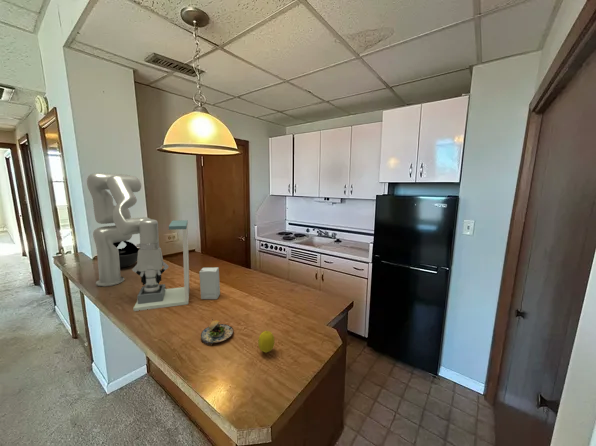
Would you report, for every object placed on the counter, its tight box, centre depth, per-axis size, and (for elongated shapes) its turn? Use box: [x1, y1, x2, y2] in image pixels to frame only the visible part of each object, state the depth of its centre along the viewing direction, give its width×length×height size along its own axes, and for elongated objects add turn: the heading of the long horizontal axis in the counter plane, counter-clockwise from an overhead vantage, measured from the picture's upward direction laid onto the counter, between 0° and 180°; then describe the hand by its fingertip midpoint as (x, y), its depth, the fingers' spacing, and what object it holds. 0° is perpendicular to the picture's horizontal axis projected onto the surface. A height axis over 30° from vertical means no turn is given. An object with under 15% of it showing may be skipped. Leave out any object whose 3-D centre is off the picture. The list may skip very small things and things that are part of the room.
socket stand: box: [132, 219, 190, 312], centre depth 119 cm, size 18×22×38 cm
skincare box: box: [198, 267, 221, 300], centre depth 125 cm, size 8×6×15 cm
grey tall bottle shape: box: [144, 265, 160, 294], centre depth 118 cm, size 6×7×20 cm
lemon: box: [257, 330, 275, 354], centre depth 85 cm, size 6×6×8 cm
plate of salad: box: [200, 318, 234, 347], centre depth 94 cm, size 12×12×8 cm
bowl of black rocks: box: [113, 240, 140, 268], centre depth 163 cm, size 20×20×19 cm
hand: (151, 282), depth 118 cm, fingers closed on grey tall bottle shape, 5 cm apart
